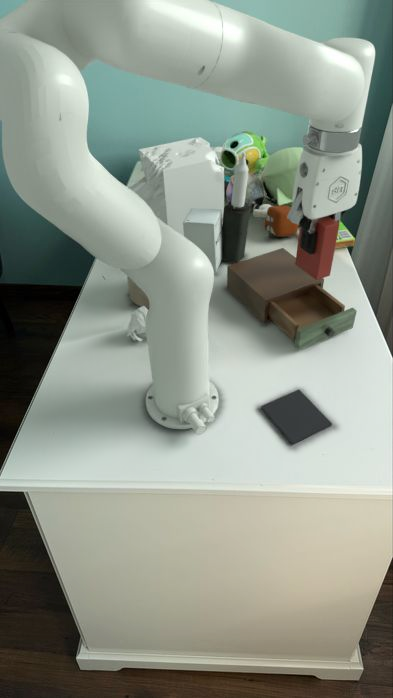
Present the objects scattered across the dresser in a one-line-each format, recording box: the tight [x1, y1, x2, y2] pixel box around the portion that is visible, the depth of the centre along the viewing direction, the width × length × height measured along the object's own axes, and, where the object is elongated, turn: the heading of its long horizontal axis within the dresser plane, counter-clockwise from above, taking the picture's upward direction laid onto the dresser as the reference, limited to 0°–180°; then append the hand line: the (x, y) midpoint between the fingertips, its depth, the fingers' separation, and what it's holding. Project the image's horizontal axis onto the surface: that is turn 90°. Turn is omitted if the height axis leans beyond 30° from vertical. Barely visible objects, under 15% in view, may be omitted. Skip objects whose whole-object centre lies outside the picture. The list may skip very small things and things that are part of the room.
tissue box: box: [127, 136, 225, 236], centre depth 129 cm, size 20×16×25 cm
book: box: [295, 216, 340, 280], centre depth 87 cm, size 6×3×10 cm, turn 29°
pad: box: [260, 389, 333, 445], centre depth 86 cm, size 9×8×1 cm
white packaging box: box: [183, 208, 223, 274], centre depth 118 cm, size 7×7×13 cm
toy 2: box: [252, 203, 299, 237], centre depth 132 cm, size 9×7×15 cm
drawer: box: [267, 284, 358, 351], centre depth 102 cm, size 15×13×4 cm
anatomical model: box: [225, 173, 265, 211], centre depth 139 cm, size 10×12×10 cm
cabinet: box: [226, 247, 325, 325], centre depth 110 cm, size 15×15×6 cm
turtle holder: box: [220, 130, 271, 175], centre depth 154 cm, size 12×18×12 cm
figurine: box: [126, 306, 149, 342], centre depth 103 cm, size 7×15×7 cm, turn 122°
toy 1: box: [260, 146, 304, 206], centre depth 139 cm, size 20×19×15 cm
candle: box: [222, 153, 251, 264], centre depth 116 cm, size 5×5×25 cm
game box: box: [290, 204, 356, 249], centre depth 132 cm, size 3×10×20 cm
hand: (315, 246), depth 87 cm, fingers closed on book, 3 cm apart
